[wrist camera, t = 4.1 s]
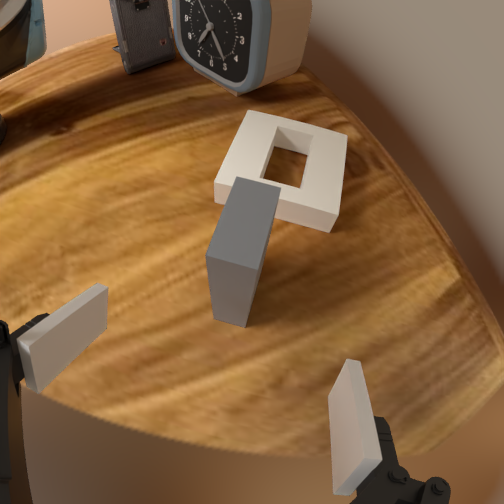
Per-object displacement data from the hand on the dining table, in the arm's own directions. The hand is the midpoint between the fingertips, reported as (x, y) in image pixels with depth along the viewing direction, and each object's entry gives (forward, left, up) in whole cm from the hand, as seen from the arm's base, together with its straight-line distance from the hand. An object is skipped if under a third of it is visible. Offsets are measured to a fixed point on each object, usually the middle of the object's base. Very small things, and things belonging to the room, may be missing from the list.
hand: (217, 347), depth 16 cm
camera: (-34, +48, -13) cm, 60 cm away
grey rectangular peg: (-1, +8, -13) cm, 15 cm away
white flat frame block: (0, +24, -13) cm, 27 cm away
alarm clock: (-13, +44, -13) cm, 47 cm away
